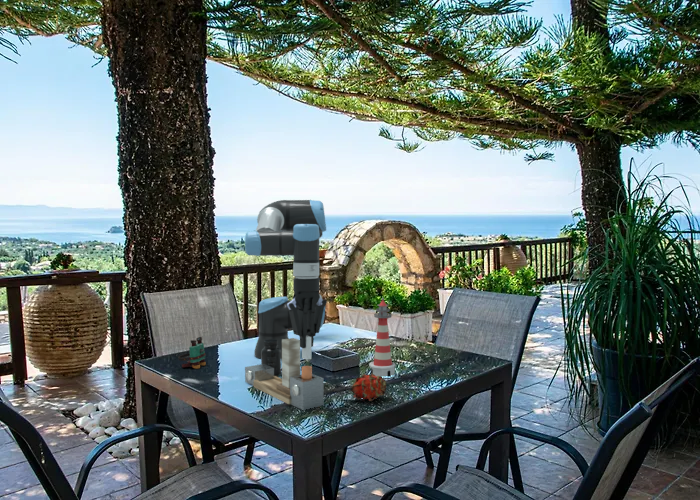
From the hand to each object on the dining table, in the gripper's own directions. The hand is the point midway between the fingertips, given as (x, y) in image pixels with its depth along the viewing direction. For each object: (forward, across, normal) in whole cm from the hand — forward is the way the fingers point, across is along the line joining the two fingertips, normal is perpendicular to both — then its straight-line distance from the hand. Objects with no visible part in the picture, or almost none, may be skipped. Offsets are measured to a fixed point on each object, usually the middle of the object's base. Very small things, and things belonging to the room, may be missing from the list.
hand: (306, 358), depth 158 cm
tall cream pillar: (+12, 0, +9) cm, 15 cm away
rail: (+14, 0, +15) cm, 20 cm away
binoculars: (+14, -10, +64) cm, 66 cm away
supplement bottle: (+14, +8, +36) cm, 39 cm away
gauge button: (+9, 0, 0) cm, 9 cm away
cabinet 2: (+14, 0, 0) cm, 14 cm away
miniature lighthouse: (+14, +38, +11) cm, 42 cm away
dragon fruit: (+14, +17, -7) cm, 23 cm away
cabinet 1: (+13, 0, +29) cm, 32 cm away
